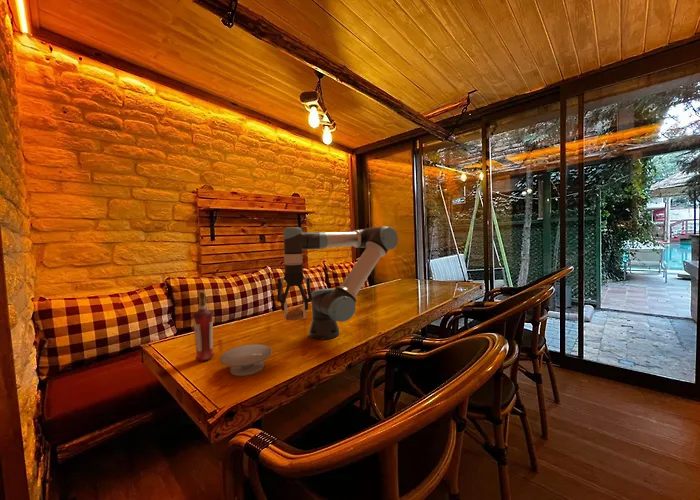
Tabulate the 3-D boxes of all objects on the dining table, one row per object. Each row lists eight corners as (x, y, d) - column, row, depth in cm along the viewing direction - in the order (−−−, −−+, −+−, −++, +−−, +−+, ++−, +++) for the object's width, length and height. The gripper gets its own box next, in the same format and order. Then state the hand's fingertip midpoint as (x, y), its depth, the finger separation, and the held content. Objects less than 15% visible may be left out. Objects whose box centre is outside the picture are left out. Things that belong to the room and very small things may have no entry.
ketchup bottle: (193, 358, 120) (190, 292, 119) (212, 353, 125) (209, 289, 123) (196, 364, 114) (193, 294, 113) (216, 359, 119) (213, 291, 118)
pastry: (297, 322, 116) (296, 312, 116) (281, 321, 118) (281, 312, 118) (305, 316, 126) (305, 307, 125) (291, 315, 127) (291, 307, 127)
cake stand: (276, 357, 118) (276, 343, 118) (265, 379, 100) (264, 362, 100) (232, 359, 118) (231, 345, 117) (212, 381, 100) (211, 364, 100)
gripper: (318, 262, 126) (319, 314, 126) (271, 263, 125) (273, 316, 126) (316, 264, 118) (318, 319, 119) (267, 265, 118) (269, 321, 118)
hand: (295, 317), depth 122 cm, fingers closed on pastry, 7 cm apart
